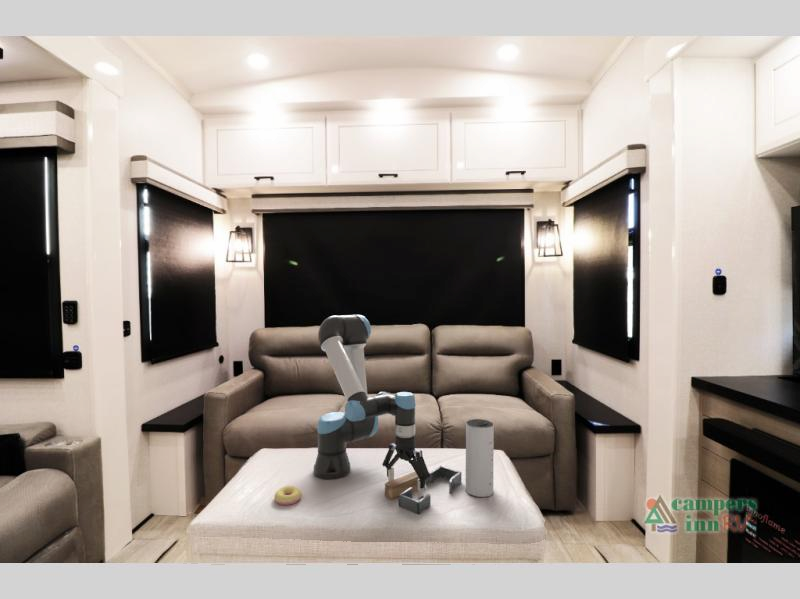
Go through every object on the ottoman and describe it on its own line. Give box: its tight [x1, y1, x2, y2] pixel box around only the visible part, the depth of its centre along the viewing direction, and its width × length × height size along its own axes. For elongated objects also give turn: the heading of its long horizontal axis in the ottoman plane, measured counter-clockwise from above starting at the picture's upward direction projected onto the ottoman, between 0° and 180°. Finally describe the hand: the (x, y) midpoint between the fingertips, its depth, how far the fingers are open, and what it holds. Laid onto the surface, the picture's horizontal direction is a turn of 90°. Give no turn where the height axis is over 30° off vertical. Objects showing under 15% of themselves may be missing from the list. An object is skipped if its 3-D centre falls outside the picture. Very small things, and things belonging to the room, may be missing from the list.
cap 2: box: [425, 465, 462, 494], centre depth 158 cm, size 12×10×4 cm
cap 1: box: [398, 487, 431, 515], centre depth 142 cm, size 9×7×4 cm
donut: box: [274, 485, 303, 506], centre depth 147 cm, size 10×5×9 cm
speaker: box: [465, 418, 495, 498], centre depth 153 cm, size 11×10×26 cm
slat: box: [384, 471, 422, 501], centre depth 153 cm, size 4×16×5 cm, turn 130°
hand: (405, 490), depth 153 cm, fingers open, 13 cm apart
